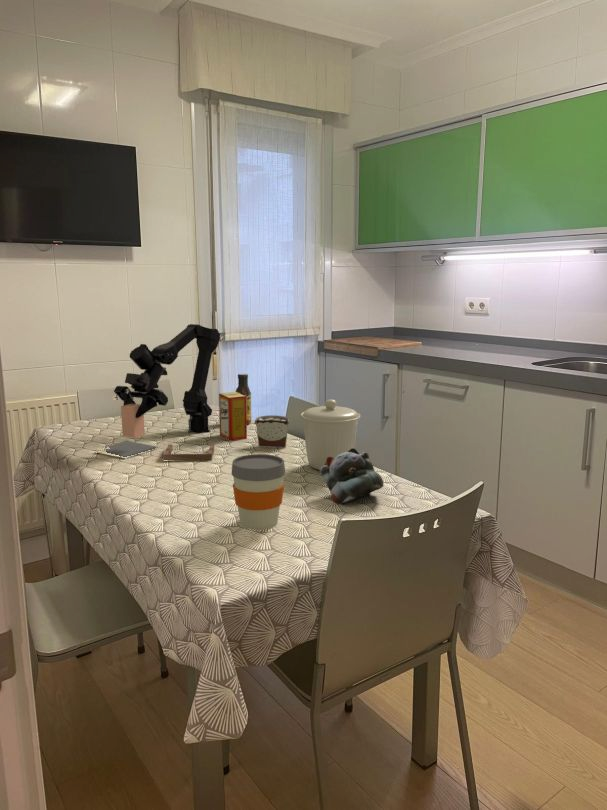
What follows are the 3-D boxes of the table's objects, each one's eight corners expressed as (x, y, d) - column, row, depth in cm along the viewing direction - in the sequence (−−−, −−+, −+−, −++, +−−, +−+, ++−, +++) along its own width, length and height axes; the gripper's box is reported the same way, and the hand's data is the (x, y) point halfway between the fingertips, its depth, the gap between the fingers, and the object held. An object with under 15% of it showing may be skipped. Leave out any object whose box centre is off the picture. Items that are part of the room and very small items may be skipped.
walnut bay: (168, 450, 207) (168, 444, 207) (214, 449, 208) (214, 444, 208) (163, 461, 195) (162, 455, 195) (211, 460, 196) (211, 454, 196)
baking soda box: (246, 438, 223) (246, 395, 220) (230, 440, 220) (229, 396, 217) (236, 433, 231) (235, 391, 228) (219, 435, 228) (218, 392, 225)
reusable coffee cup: (285, 512, 153) (285, 453, 150) (285, 532, 141) (285, 469, 138) (234, 512, 153) (233, 453, 150) (230, 532, 140) (229, 469, 137)
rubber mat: (126, 443, 216) (126, 440, 216) (156, 449, 209) (156, 446, 208) (94, 452, 204) (94, 449, 204) (124, 459, 197) (124, 456, 197)
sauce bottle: (250, 425, 244) (250, 375, 240) (234, 425, 244) (233, 375, 240) (252, 421, 250) (251, 373, 246) (236, 421, 250) (236, 372, 246)
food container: (292, 443, 217) (292, 415, 215) (290, 447, 211) (290, 419, 209) (257, 442, 219) (257, 414, 217) (254, 446, 213) (254, 418, 211)
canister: (355, 477, 180) (357, 406, 176) (294, 473, 183) (295, 404, 179) (362, 460, 197) (363, 395, 193) (306, 456, 201) (307, 393, 197)
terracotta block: (132, 432, 207) (131, 403, 205) (144, 434, 205) (143, 404, 203) (122, 436, 202) (120, 406, 200) (134, 437, 200) (133, 407, 198)
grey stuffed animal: (331, 507, 156) (315, 455, 159) (331, 509, 168) (316, 460, 171) (387, 490, 156) (370, 437, 159) (384, 493, 168) (368, 444, 171)
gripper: (115, 361, 206) (94, 400, 199) (161, 365, 198) (140, 405, 191) (133, 381, 215) (112, 418, 207) (177, 385, 207) (157, 424, 199)
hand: (129, 416), depth 201 cm, fingers closed on terracotta block, 5 cm apart
